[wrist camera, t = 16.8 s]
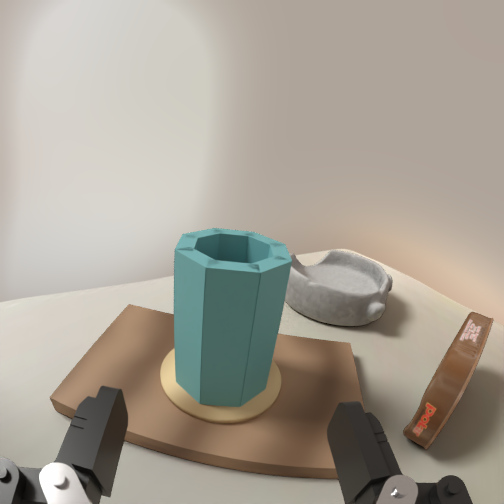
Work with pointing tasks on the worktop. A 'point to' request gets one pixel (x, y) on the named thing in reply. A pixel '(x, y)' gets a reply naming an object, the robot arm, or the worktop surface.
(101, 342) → the post stand
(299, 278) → the dish
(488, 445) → the worktop surface
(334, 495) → the worktop surface
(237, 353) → the collar
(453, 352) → the tin
